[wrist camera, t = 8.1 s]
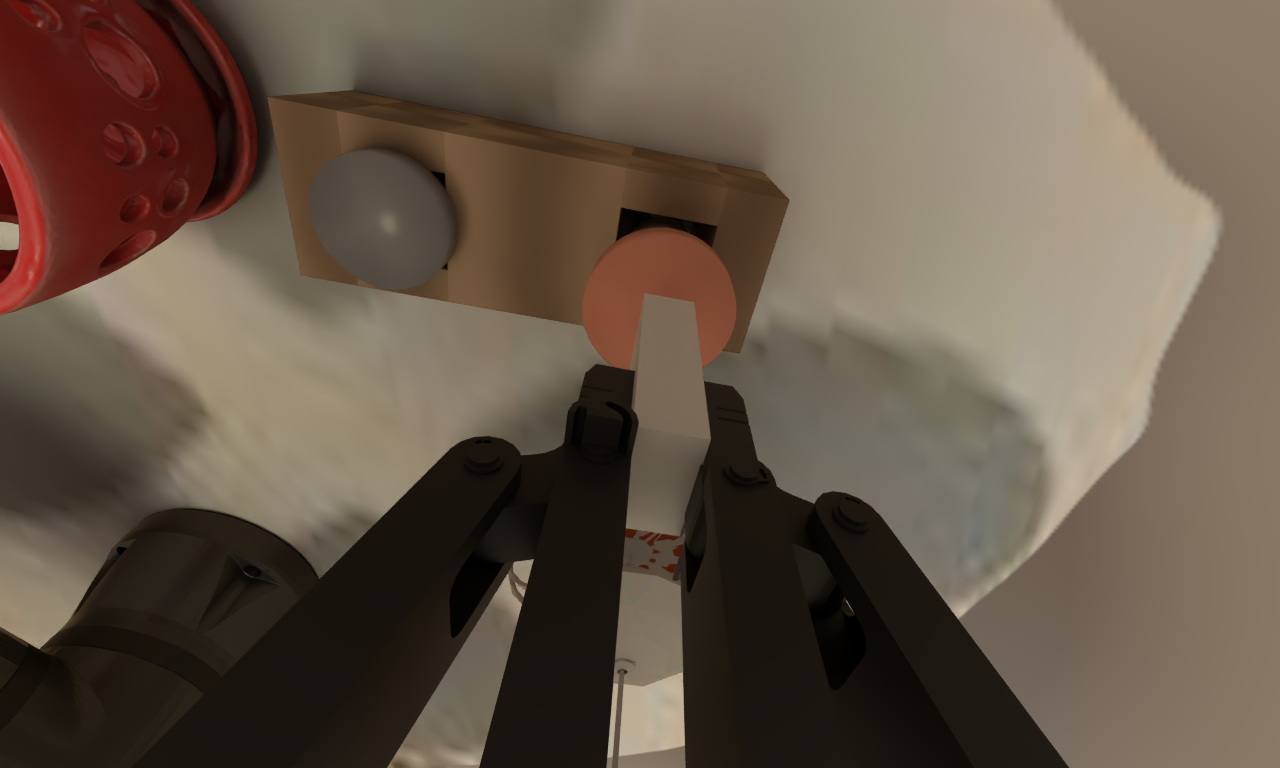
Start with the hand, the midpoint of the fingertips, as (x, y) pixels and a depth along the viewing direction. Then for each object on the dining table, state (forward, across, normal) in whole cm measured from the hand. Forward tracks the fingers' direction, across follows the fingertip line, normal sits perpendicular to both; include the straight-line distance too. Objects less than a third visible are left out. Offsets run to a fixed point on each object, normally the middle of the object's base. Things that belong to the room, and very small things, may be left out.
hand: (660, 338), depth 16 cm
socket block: (+13, +6, 0) cm, 14 cm away
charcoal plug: (+12, +11, 0) cm, 17 cm away
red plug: (+9, 0, 0) cm, 9 cm away
